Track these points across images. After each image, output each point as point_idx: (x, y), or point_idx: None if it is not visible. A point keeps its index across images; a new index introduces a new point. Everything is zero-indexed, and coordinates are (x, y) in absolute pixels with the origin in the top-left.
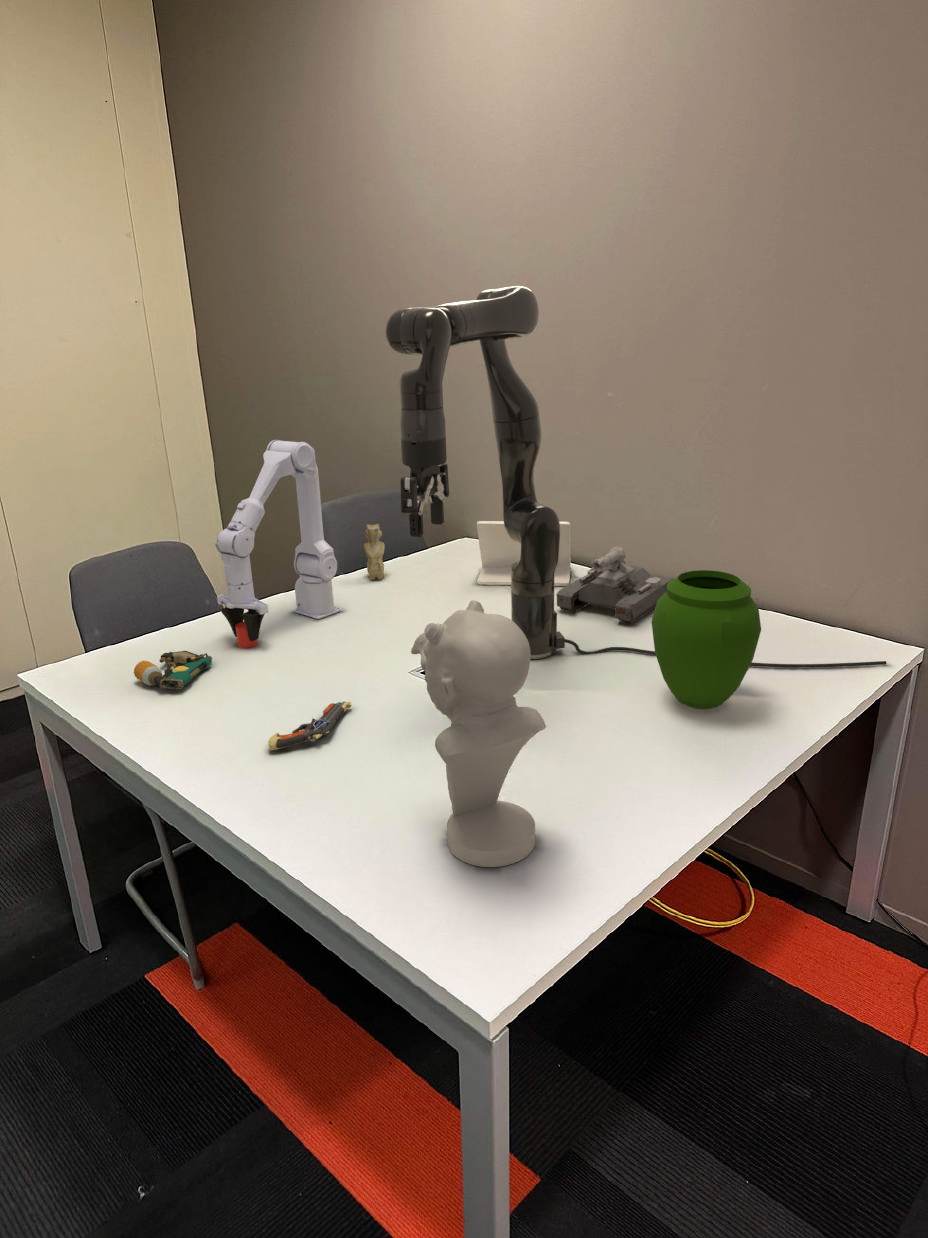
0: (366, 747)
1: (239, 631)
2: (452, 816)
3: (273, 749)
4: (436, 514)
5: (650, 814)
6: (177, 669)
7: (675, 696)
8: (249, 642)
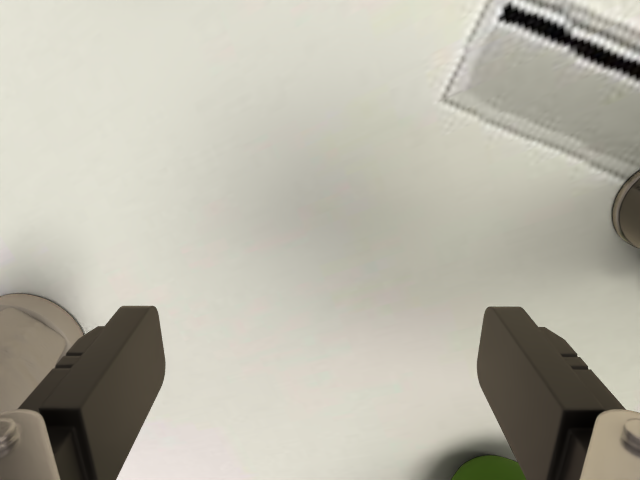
0: (155, 60)
1: None
2: (3, 308)
3: None
4: (506, 388)
5: (178, 467)
6: None
7: (464, 466)
8: None
